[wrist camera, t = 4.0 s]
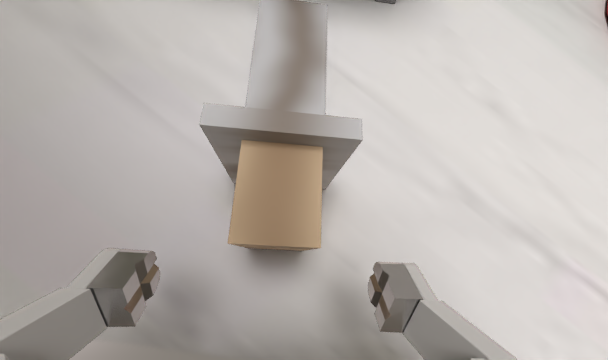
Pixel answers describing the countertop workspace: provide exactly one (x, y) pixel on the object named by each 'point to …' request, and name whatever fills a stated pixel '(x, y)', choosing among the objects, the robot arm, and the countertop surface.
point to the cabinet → (387, 1)
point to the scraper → (282, 132)
